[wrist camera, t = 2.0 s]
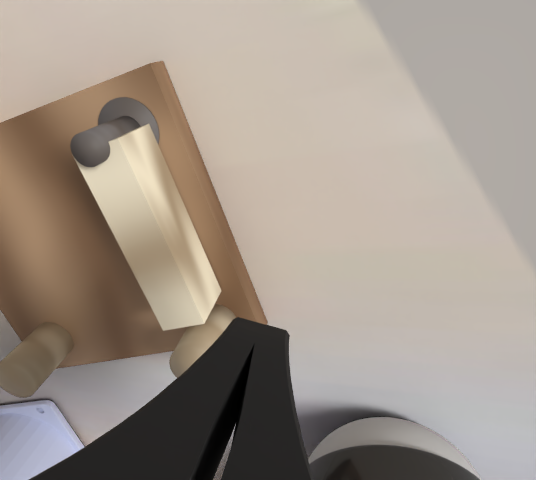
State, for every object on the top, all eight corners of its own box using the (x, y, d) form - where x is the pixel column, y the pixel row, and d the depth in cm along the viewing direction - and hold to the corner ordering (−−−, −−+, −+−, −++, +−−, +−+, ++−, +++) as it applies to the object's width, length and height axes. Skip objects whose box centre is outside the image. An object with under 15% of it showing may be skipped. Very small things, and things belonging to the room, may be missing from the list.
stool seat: (54, 356, 26) (1, 414, 22) (-77, 155, 22) (-173, 184, 18) (267, 322, 22) (247, 386, 18) (163, 60, 17) (105, 72, 13)
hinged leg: (101, 123, 18) (54, 141, 15) (142, 108, 17) (102, 124, 14) (184, 297, 21) (158, 338, 18) (221, 290, 20) (200, 331, 17)
